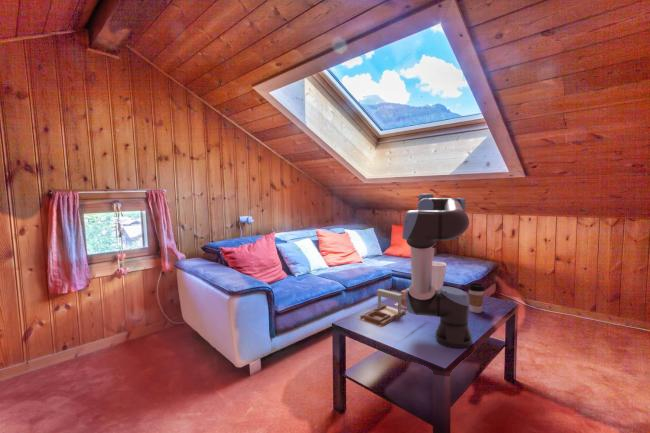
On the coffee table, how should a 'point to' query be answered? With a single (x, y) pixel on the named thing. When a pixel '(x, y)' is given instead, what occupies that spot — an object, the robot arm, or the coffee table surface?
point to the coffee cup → (476, 297)
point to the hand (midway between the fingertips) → (425, 261)
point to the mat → (401, 306)
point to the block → (403, 297)
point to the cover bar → (389, 295)
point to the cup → (438, 274)
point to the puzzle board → (381, 315)
